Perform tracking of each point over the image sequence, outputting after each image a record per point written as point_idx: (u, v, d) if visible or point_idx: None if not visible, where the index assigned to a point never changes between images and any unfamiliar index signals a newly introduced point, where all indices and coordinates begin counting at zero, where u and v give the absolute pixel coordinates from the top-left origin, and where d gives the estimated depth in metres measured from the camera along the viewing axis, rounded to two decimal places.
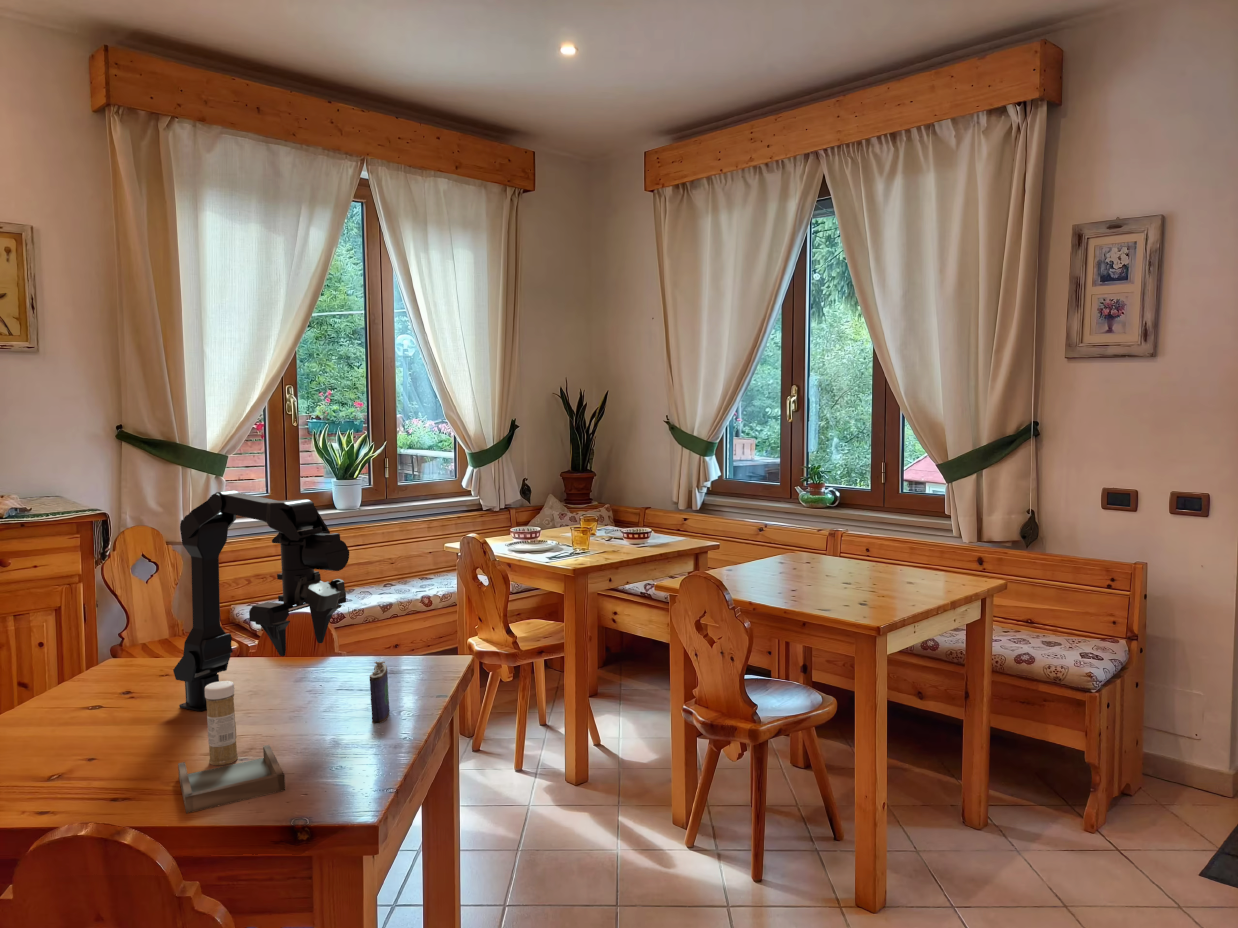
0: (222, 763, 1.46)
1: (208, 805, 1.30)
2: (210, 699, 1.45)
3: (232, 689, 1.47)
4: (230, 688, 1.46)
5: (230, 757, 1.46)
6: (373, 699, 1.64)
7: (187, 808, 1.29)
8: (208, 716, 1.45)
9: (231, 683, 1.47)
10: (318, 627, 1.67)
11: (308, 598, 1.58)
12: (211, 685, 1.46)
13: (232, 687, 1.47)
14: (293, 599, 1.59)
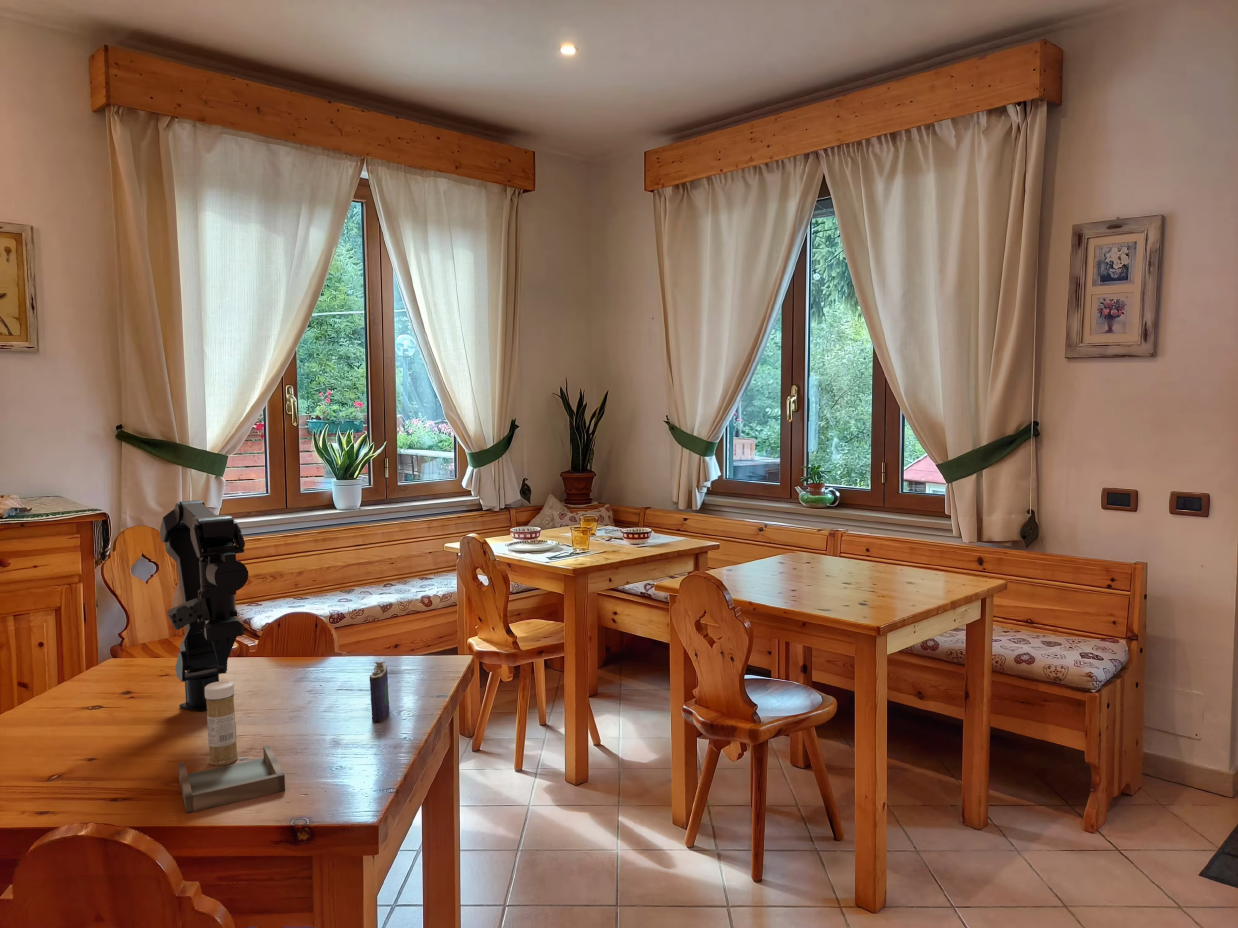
0: (222, 763, 1.46)
1: (208, 805, 1.30)
2: (210, 699, 1.45)
3: (232, 689, 1.47)
4: (230, 688, 1.46)
5: (230, 757, 1.46)
6: (373, 699, 1.64)
7: (187, 808, 1.29)
8: (208, 716, 1.45)
9: (231, 683, 1.47)
10: None
11: None
12: (211, 685, 1.46)
13: (232, 687, 1.47)
14: None
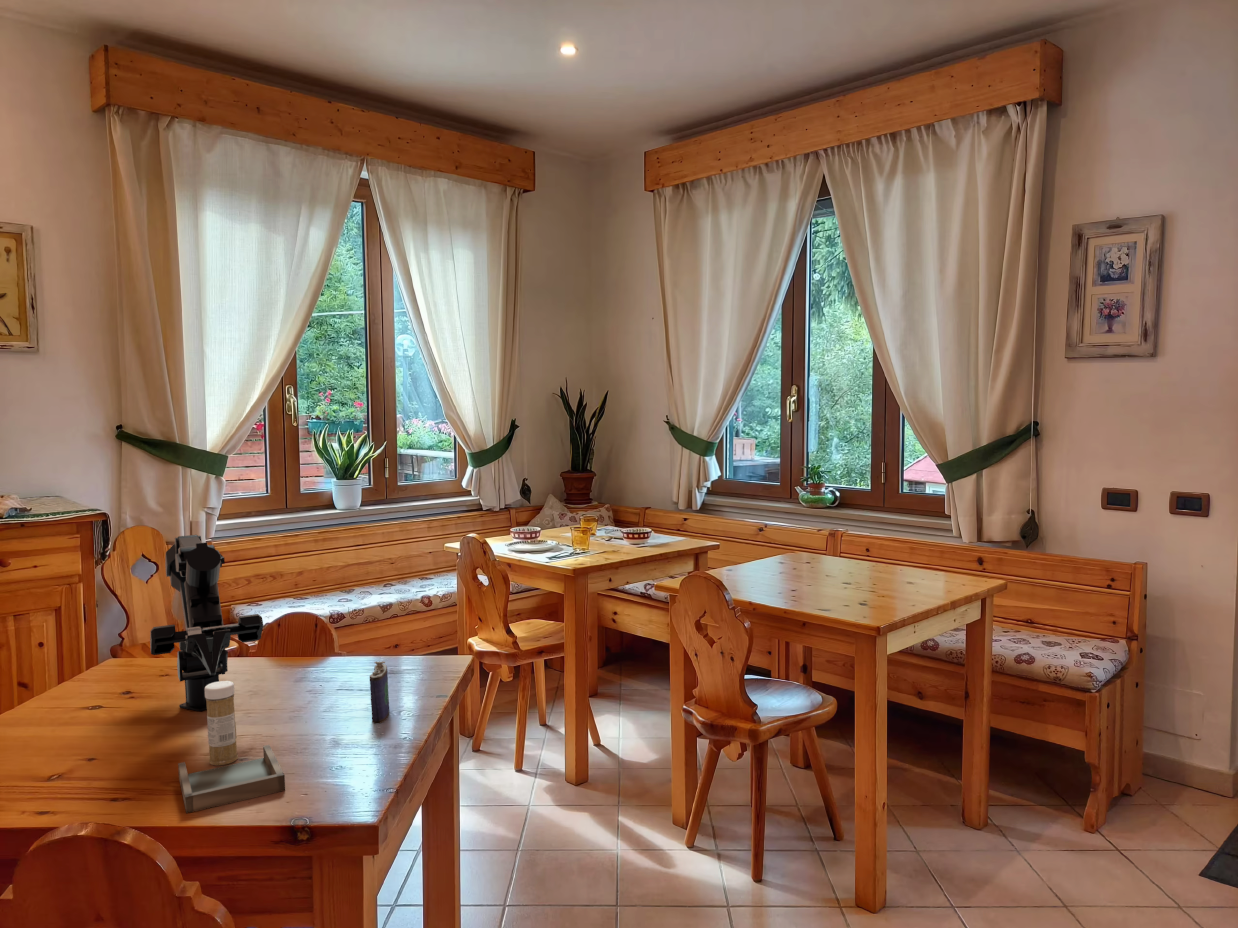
0: (222, 763, 1.46)
1: (208, 805, 1.30)
2: (210, 699, 1.45)
3: (232, 689, 1.47)
4: (230, 688, 1.46)
5: (230, 757, 1.46)
6: (373, 699, 1.64)
7: (187, 808, 1.29)
8: (208, 716, 1.45)
9: (231, 683, 1.47)
10: None
11: None
12: (211, 685, 1.46)
13: (232, 687, 1.47)
14: None
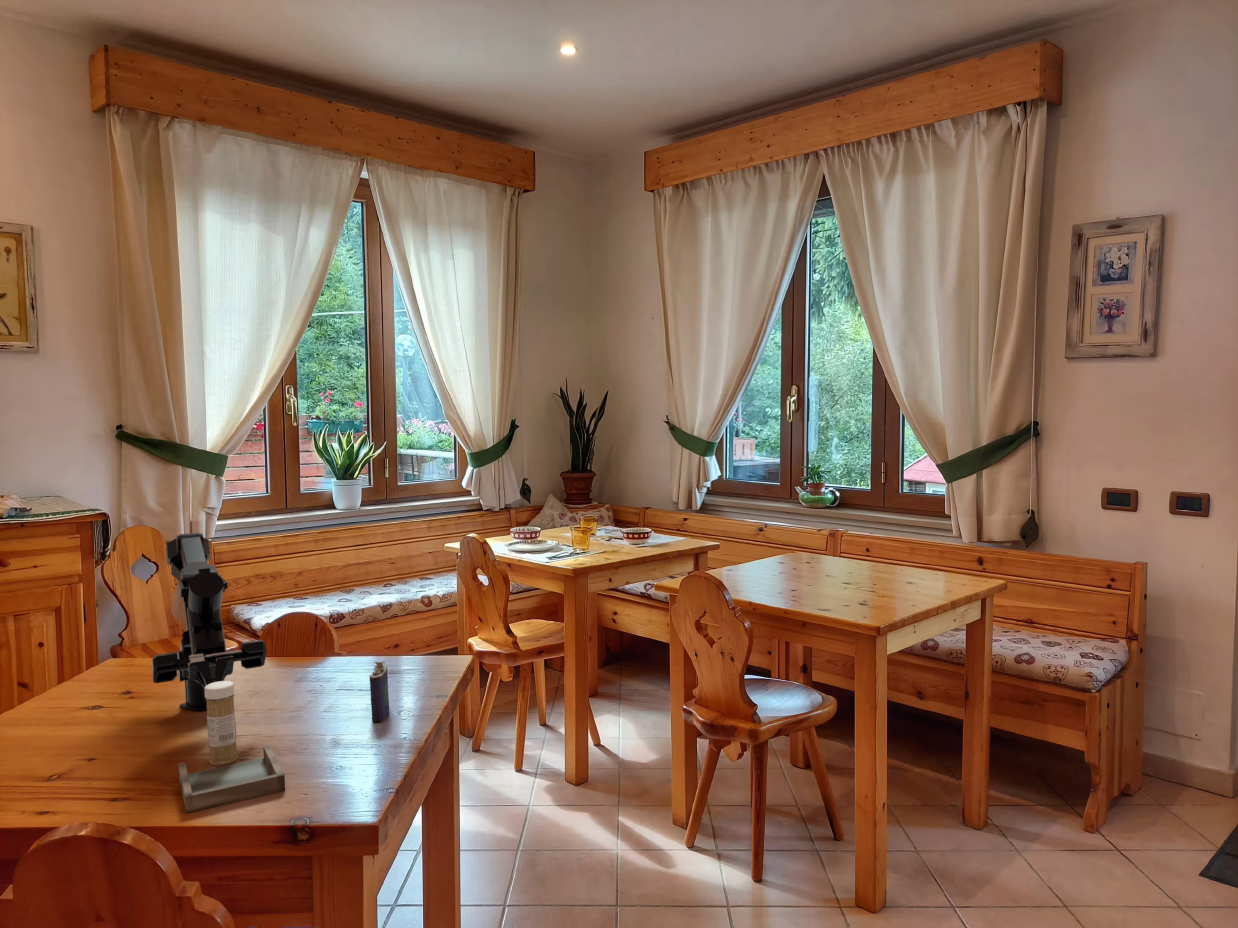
0: (222, 763, 1.46)
1: (208, 805, 1.30)
2: (210, 699, 1.45)
3: (232, 689, 1.47)
4: (230, 688, 1.46)
5: (230, 757, 1.46)
6: (373, 699, 1.64)
7: (187, 808, 1.29)
8: (208, 716, 1.45)
9: (231, 683, 1.47)
10: None
11: None
12: (211, 685, 1.46)
13: (232, 687, 1.47)
14: None
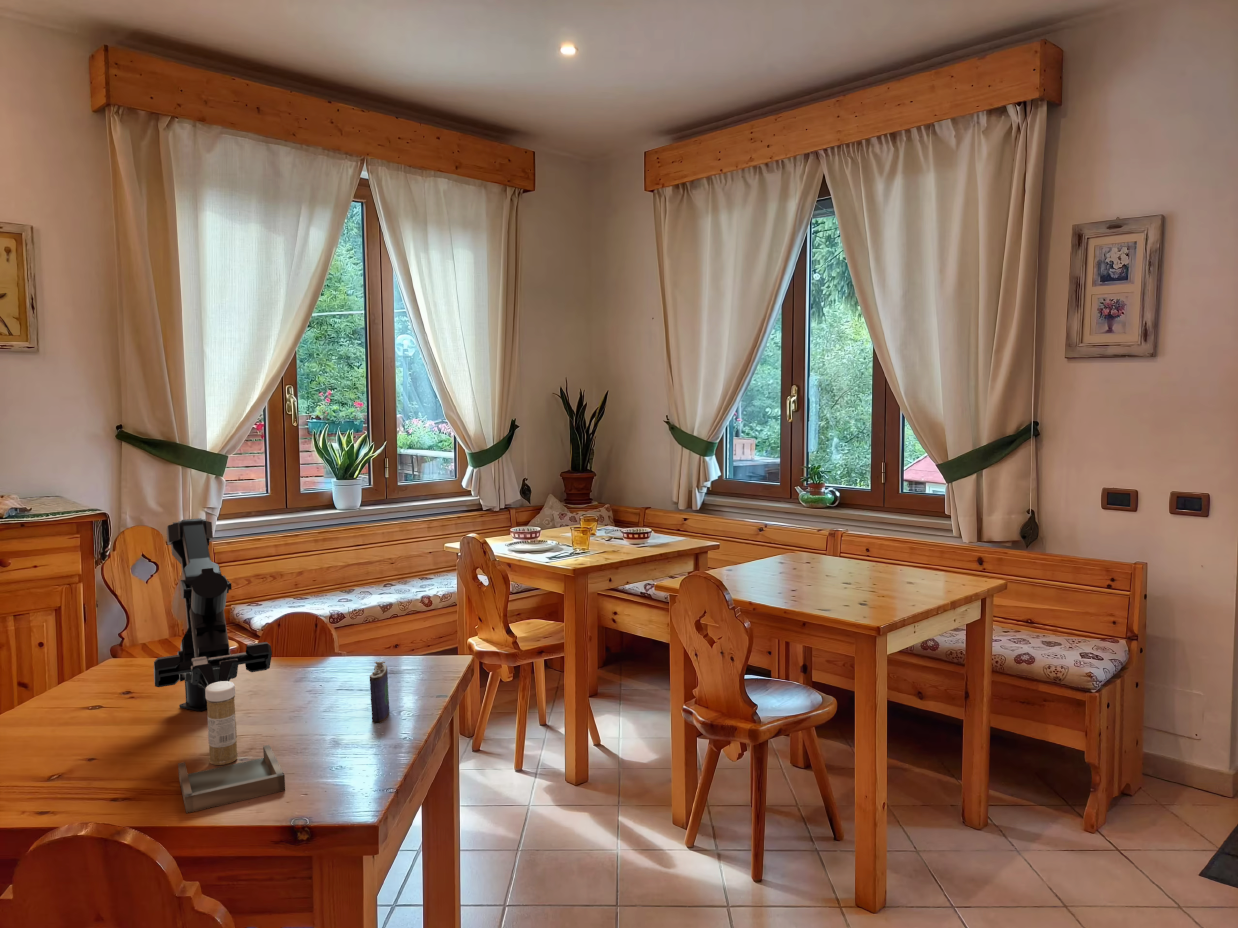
0: (222, 763, 1.46)
1: (208, 805, 1.30)
2: (211, 701, 1.44)
3: (233, 691, 1.46)
4: (231, 690, 1.45)
5: (230, 757, 1.46)
6: (373, 699, 1.64)
7: (187, 808, 1.29)
8: (208, 717, 1.45)
9: (232, 685, 1.46)
10: None
11: None
12: (211, 687, 1.45)
13: (233, 689, 1.46)
14: None
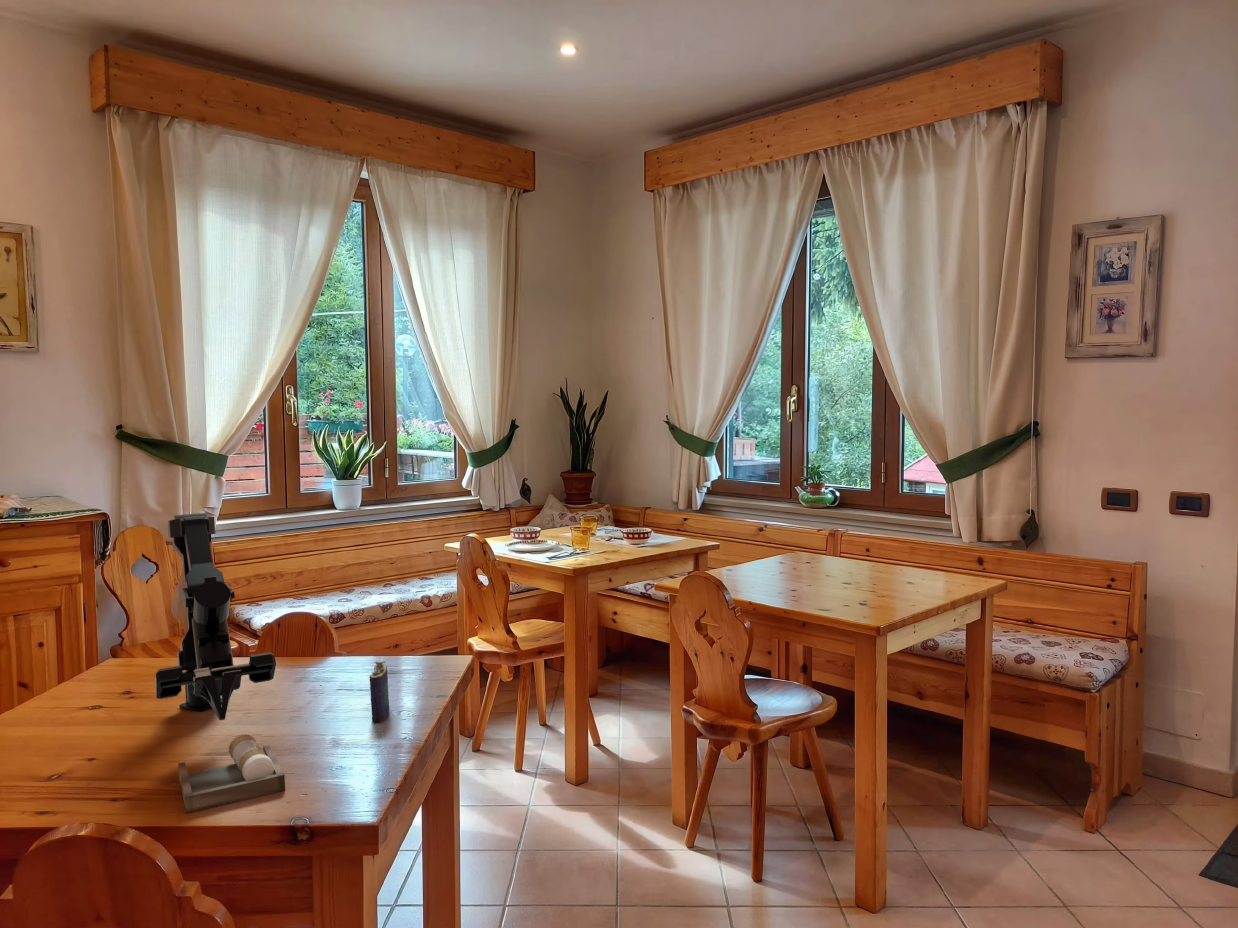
0: (229, 751, 1.46)
1: (208, 805, 1.30)
2: (245, 763, 1.37)
3: None
4: None
5: None
6: (373, 699, 1.64)
7: (187, 808, 1.29)
8: (244, 753, 1.40)
9: None
10: None
11: None
12: (256, 765, 1.36)
13: None
14: None
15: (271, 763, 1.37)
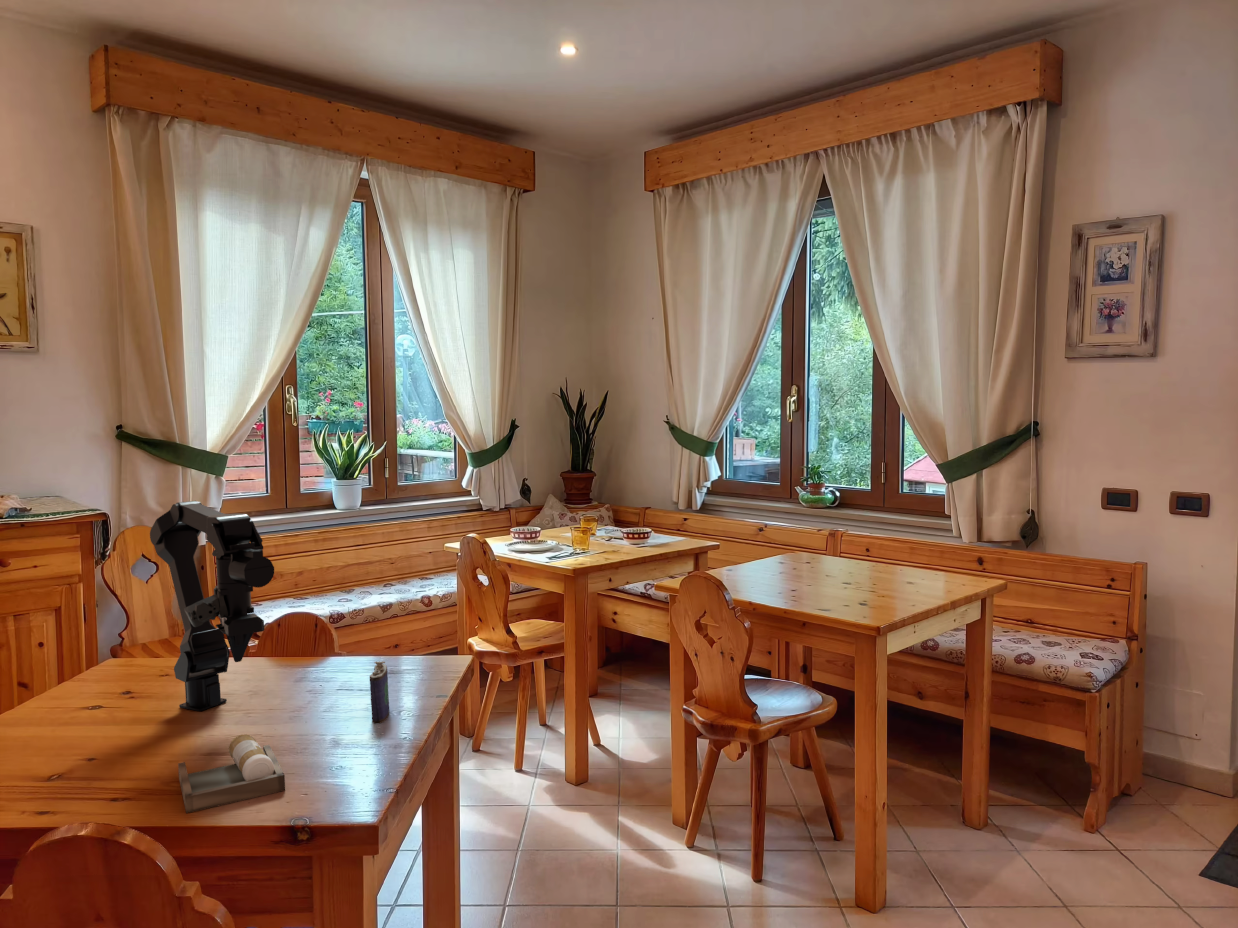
0: (229, 751, 1.46)
1: (208, 805, 1.30)
2: (245, 763, 1.37)
3: None
4: None
5: None
6: (373, 699, 1.64)
7: (187, 808, 1.29)
8: (244, 753, 1.40)
9: None
10: None
11: None
12: (256, 765, 1.36)
13: None
14: None
15: (271, 763, 1.37)
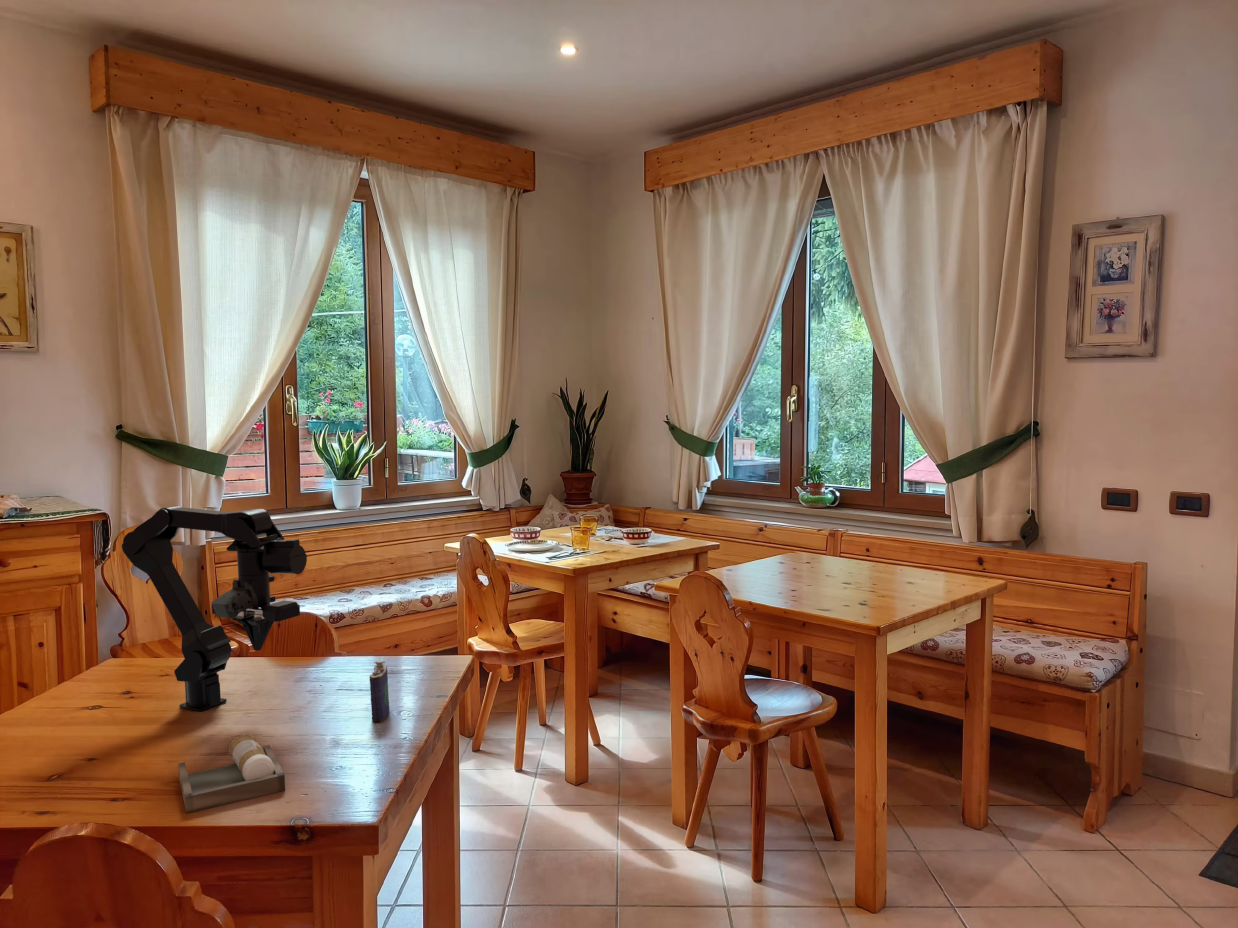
0: (229, 751, 1.46)
1: (208, 805, 1.30)
2: (245, 763, 1.37)
3: None
4: None
5: None
6: (373, 699, 1.64)
7: (187, 808, 1.29)
8: (244, 753, 1.40)
9: None
10: None
11: None
12: (256, 765, 1.36)
13: None
14: None
15: (271, 763, 1.37)
